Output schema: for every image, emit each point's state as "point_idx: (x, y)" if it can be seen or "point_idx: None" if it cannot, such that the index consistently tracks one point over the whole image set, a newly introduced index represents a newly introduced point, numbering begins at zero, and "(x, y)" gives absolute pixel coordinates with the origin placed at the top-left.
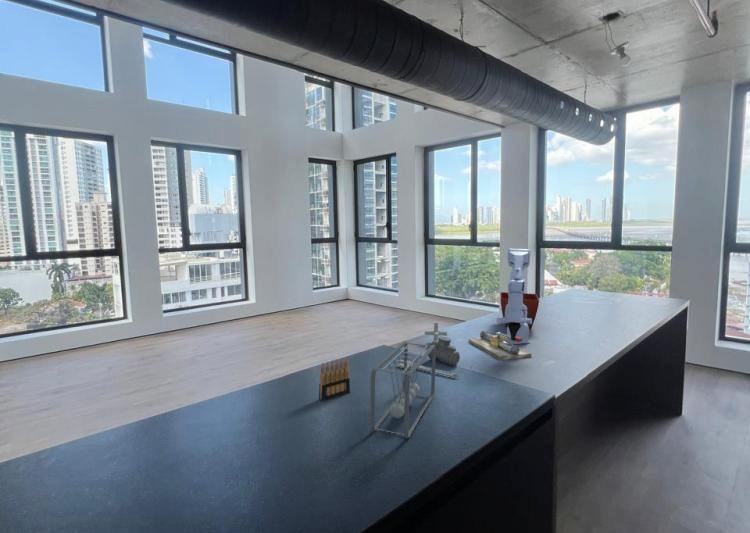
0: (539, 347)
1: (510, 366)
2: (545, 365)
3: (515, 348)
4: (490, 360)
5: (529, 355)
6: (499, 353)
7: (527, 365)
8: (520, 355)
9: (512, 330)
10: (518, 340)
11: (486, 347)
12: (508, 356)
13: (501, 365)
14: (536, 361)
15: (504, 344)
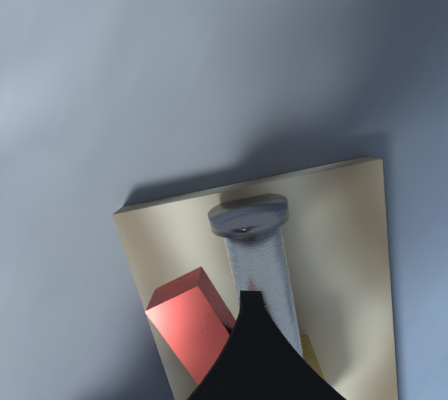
0: (9, 371)
1: (358, 10)
2: (80, 25)
3: (247, 213)
4: (439, 150)
5: (131, 208)
6: (352, 224)
7: (217, 30)
8: (204, 193)
9: (318, 378)
10: (201, 280)
11: (379, 346)
12: (305, 173)
13: (416, 37)
14: (117, 118)
15: (291, 319)
